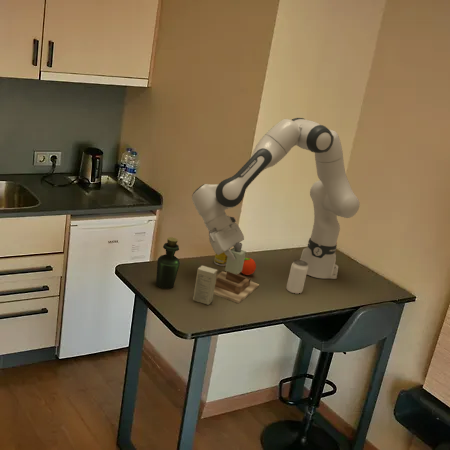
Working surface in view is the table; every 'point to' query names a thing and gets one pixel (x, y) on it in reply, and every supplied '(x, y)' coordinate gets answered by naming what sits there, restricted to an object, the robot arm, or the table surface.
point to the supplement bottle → (220, 259)
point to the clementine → (248, 266)
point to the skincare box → (205, 285)
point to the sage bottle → (237, 264)
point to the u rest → (233, 286)
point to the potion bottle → (168, 265)
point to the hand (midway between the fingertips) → (237, 257)
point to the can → (297, 276)
